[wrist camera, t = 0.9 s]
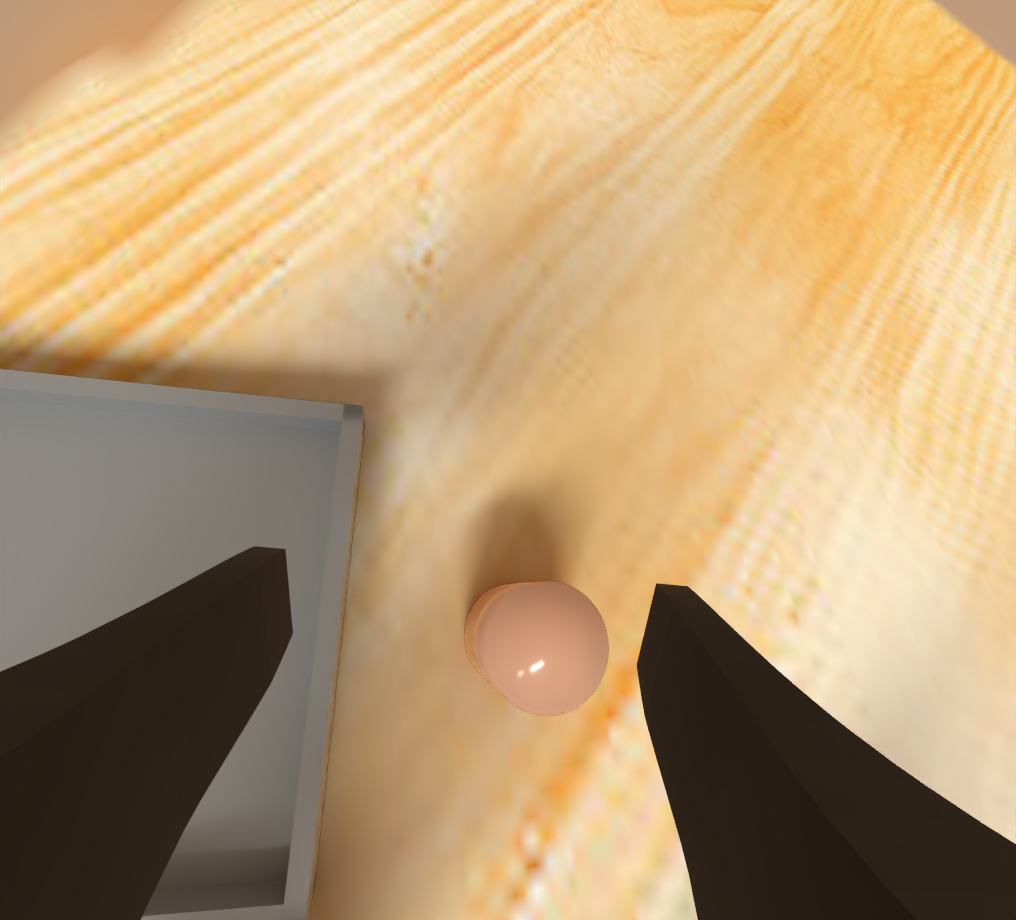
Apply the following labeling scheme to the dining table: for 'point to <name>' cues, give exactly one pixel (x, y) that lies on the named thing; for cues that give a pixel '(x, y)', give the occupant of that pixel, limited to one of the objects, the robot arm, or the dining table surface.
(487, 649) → the pink rounded cylinder
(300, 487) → the tray
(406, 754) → the dining table surface
